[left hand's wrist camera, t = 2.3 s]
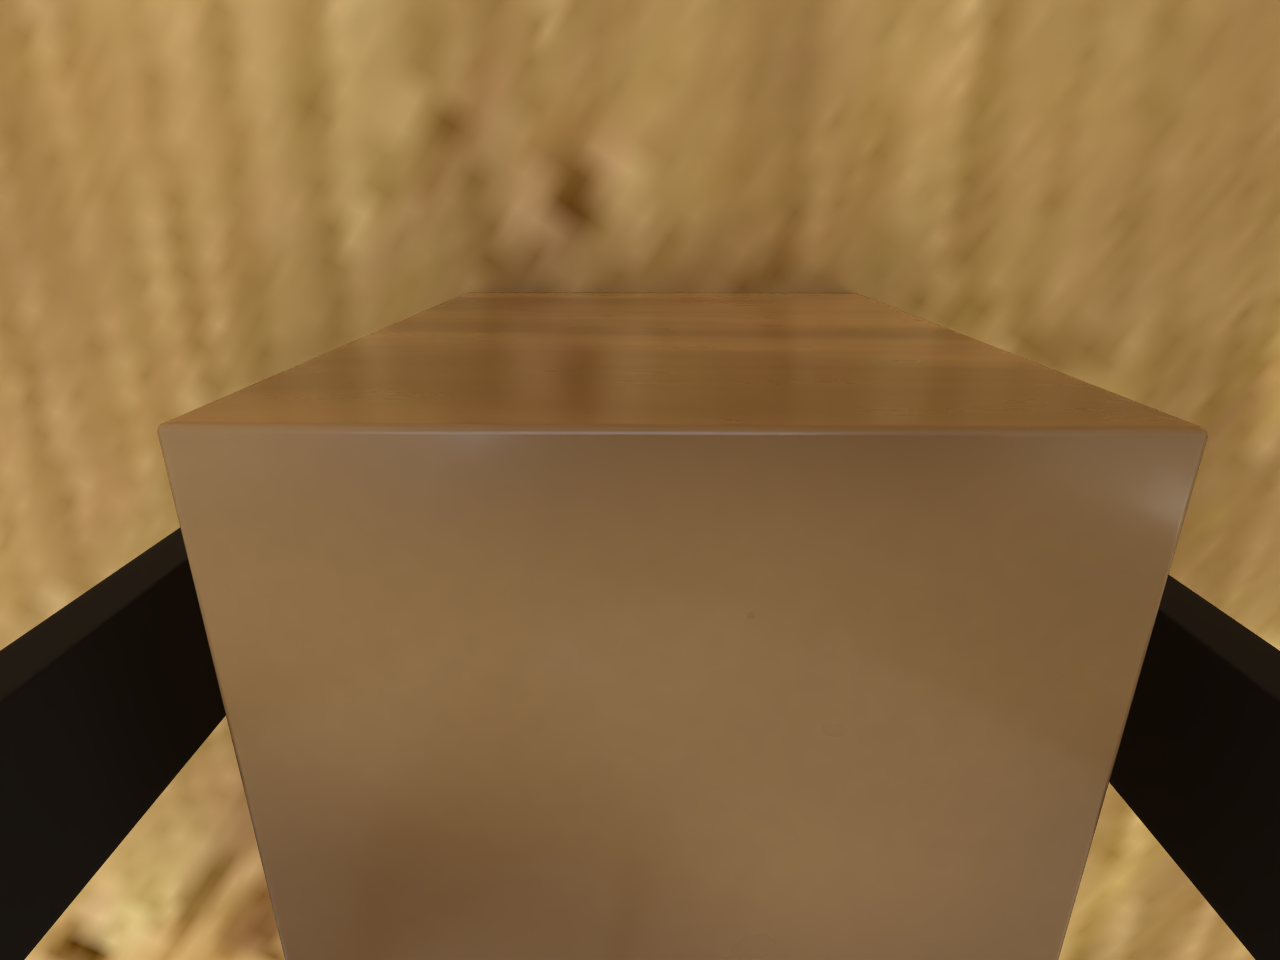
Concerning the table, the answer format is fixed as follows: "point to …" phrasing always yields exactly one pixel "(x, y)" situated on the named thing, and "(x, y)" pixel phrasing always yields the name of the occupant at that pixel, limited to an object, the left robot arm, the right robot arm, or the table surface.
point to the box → (676, 628)
